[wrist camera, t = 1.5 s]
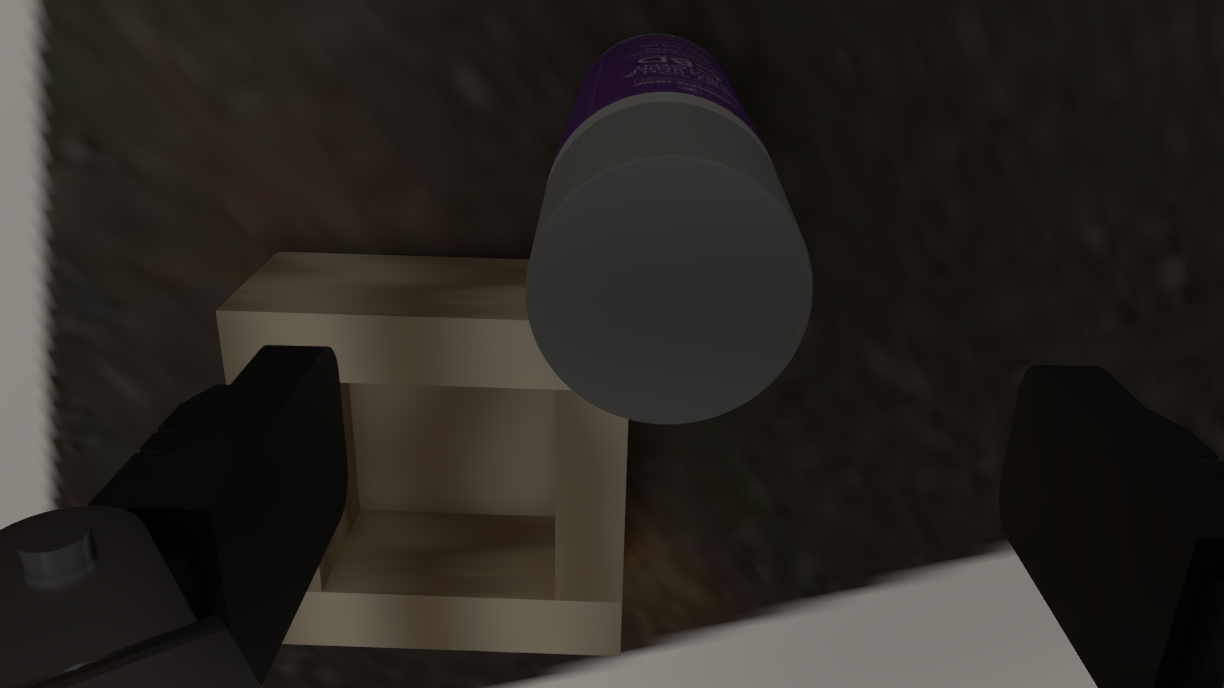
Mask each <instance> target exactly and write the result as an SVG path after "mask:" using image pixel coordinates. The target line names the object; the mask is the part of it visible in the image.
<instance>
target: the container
mask: <svg viewBox="0 0 1224 688" xmlns="http://www.w3.org/2000/svg"><path fill="white" fill-rule="evenodd" d="M525 295H526V308H527V314H528V319H529V323H530V327H531V330H532V333H533V336H534V338H535V341H536V343H537V345H538V347H539V349H540V351H541V353H542V354H543V356H544V358H545V360H546V361H547V363H548V364H549V365H550V367H551V368H552V370H553V371H554V372H555V373H556V374H557V376H558V377H559V378H560V379H561V380H562V381H563V382H564V383H565V384H566V385H567V386H568V387H569V388H570V389H571V390H573V391H574V392H575V393H576V394H577V395H579V396H580V397H582V398H583V399H585V400H586V401H588V402H589V403H591V404H593V405H594V406H596V407H598V408H600V409H602V410H604V411H606V412H609V413H611V414H614V415H616V416H619V417H622V418H626V419H629V420H633V421H638V422H644V423H651V424H684V423H691V422H697V421H702V420H705V419H709V418H713V417H716V416H719V415H721V414H724V413H726V412H729V411H731V410H733V409H735V408H737V407H739V406H741V405H743V404H744V403H746V402H748V401H749V400H751V399H752V398H754V397H755V396H757V395H758V394H759V393H761V392H762V391H763V390H764V389H765V388H767V387H768V386H769V385H770V384H771V383H772V382H773V381H774V380H775V379H776V378H777V377H778V376H779V375H780V373H781V372H782V371H783V370H784V369H785V367H786V366H787V365H788V363H789V362H790V361H791V359H792V357H793V356H794V354H795V353H796V351H797V349H798V347H799V345H800V343H801V341H802V339H803V336H804V334H805V331H806V328H807V325H808V321H809V317H810V313H811V307H812V299H813V277H812V268H811V263H810V258H809V255H808V251H807V248H806V245H805V242H804V240H803V237H802V235H801V232H800V230H799V227H798V225H797V222H796V220H795V218H794V215H793V213H792V210H791V208H790V205H789V203H788V200H787V198H786V195H785V193H784V191H783V188H782V186H781V183H780V181H779V178H778V176H777V173H776V170H775V167H774V164H773V162H772V160H771V157H770V155H769V153H768V151H767V150H766V148H765V146H764V144H763V142H762V140H761V138H760V137H759V135H758V133H757V131H756V129H755V127H754V126H753V124H752V122H751V120H750V118H749V116H748V114H747V113H746V111H745V109H744V107H743V105H742V103H741V102H740V100H739V98H738V96H737V94H736V92H735V90H734V89H733V87H732V85H731V83H730V81H729V79H728V78H727V76H726V74H725V72H724V71H723V69H722V68H721V67H720V65H719V64H718V63H717V62H716V60H715V59H714V58H713V57H712V56H711V55H710V54H709V53H708V52H707V51H705V50H704V49H702V48H701V47H700V46H698V45H696V44H695V43H693V42H691V41H689V40H687V39H684V38H681V37H678V36H674V35H670V34H662V33H650V34H642V35H637V36H634V37H630V38H628V39H625V40H623V41H621V42H619V43H617V44H615V45H614V46H612V47H611V48H609V49H608V50H607V51H605V52H604V53H603V54H602V55H601V56H600V57H599V58H598V59H597V60H596V61H595V62H594V64H593V65H592V66H591V68H590V69H589V70H588V72H587V74H586V75H585V77H584V79H583V81H582V83H581V86H580V88H579V90H578V93H577V96H576V99H575V102H574V105H573V108H572V111H571V113H570V116H569V119H568V122H567V125H566V128H565V131H564V133H563V136H562V139H561V142H560V145H559V148H558V151H557V153H556V156H555V159H554V162H553V165H552V168H551V171H550V174H549V178H548V181H547V186H546V191H545V195H544V199H543V204H542V208H541V212H540V217H539V221H538V225H537V229H536V234H535V238H534V242H533V247H532V251H531V255H530V259H529V264H528V269H527V275H526V291H525Z"/></svg>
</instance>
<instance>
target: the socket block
mask: <svg viewBox="0 0 1224 688" xmlns="http://www.w3.org/2000/svg"><path fill="white" fill-rule="evenodd" d="M528 264H529V259H502V258H469V257H437V256H405V255H372V254H340V253H308V252H277V253H276V254H275V255H274V256H273V257H272V258H271V259H270V260H269V261H268V262H267V263H266V264H265V265H263V266H262V267H261V268H260V269H259V270H258V271H257V272H256V273H255V274H254V275H253V276H252V277H251V278H250V279H249V280H248V281H246V282H245V283H244V284H243V285H242V286H241V287H240V288H239V289H238V290H237V291H236V292H235V293H234V294H233V295H232V296H231V297H229V298H228V299H227V300H226V301H225V302H224V303H223V304H222V305H221V306H220V307H219V308H218V309H217V310H216V316H217V323H218V330H219V337H220V344H221V351H222V358H223V365H224V372H225V379H226V385H230V384H231V383H232V382H233V381H234V379H235V378H236V377H237V376H238V375H239V374H240V372H241V371H242V370H243V369H244V368H245V367H246V365H247V364H248V363H249V362H250V361H251V359H252V358H253V357H254V356H255V355H256V354H257V352H258V351H259V350H260V349H261V348H262V347H263V346H265V345H291V346H328V347H331V348H332V349H333V351H334V353H335V355H336V359H337V363H338V369H339V379H340V389H341V399H342V410H343V420H344V431H345V441H346V452H347V462H348V488H347V497H346V503H345V508H344V512H343V515H342V518H341V520H340V523H339V525H338V527H337V529H336V531H335V533H334V535H333V537H332V539H331V541H330V544H329V546H328V548H327V550H326V552H325V554H324V556H323V558H322V560H321V563H320V565H319V567H318V569H317V571H316V573H315V575H314V577H313V579H312V581H311V584H310V586H309V588H308V590H307V592H306V594H305V596H304V598H303V600H302V603H301V605H300V607H299V609H298V611H297V613H296V615H295V617H294V619H293V621H292V624H291V626H290V628H289V630H288V632H287V634H286V636H285V638H284V640H283V643H282V644H302V645H330V646H357V647H385V648H412V649H440V650H467V651H495V652H522V653H550V654H578V655H605V656H620V648H621V619H622V589H623V560H624V531H625V502H626V473H627V444H628V419H626V418H622V417H619V416H616V415H614V414H611V413H609V412H606V411H604V410H602V409H600V408H598V407H596V406H594V405H593V404H591V403H589V402H588V401H586V400H585V399H583V398H582V397H580V396H579V395H577V394H576V393H575V392H574V391H573V390H571V389H570V388H569V387H568V386H567V385H566V384H565V383H564V382H563V381H562V380H561V379H560V378H559V377H558V376H557V374H556V373H555V372H554V371H553V370H552V368H551V367H550V365H549V364H548V363H547V361H546V360H545V358H544V356H543V354H542V353H541V351H540V349H539V347H538V345H537V343H536V341H535V338H534V336H533V333H532V330H531V327H530V323H529V319H528V314H527V308H526V295H525V291H526V275H527V269H528Z"/></svg>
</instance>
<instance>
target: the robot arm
mask: <svg viewBox="0 0 1224 688" xmlns="http://www.w3.org/2000/svg"><path fill="white" fill-rule="evenodd" d="M347 488H348V462H347V452H346V441H345V431H344V420H343V410H342V399H341V389H340V379H339V369H338V363H337V359H336V355H335V353H334V351H333V349H332V348H331V347H328V346H291V345H265V346H263V347H262V348H261V349H260V350H259V351H258V352H257V354H256V355H255V356H254V357H253V358H252V359H251V361H250V362H249V363H248V364H247V365H246V367H245V368H244V369H243V370H242V371H241V372H240V374H239V375H238V376H237V377H236V378H235V379H234V381H233V382H232V383H231V384H230V385H221V384H216V385H215V386H213V387H211V388H209V389H207V390H205V391H203V392H202V393H200V394H198V395H196V396H194V397H192V398H191V399H189V400H187V401H185V402H183V403H181V404H180V405H179V406H178V407H177V408H176V409H175V410H174V411H173V412H172V413H171V414H170V416H169V417H168V418H167V419H166V420H165V421H164V422H163V423H162V424H161V425H160V426H159V428H158V433H153V434H152V435H151V436H150V437H149V438H148V440H147V441H146V442H145V443H144V444H143V445H142V446H141V447H140V453H135V454H134V455H133V456H132V457H131V458H130V459H129V460H128V461H127V463H126V464H125V465H124V466H123V467H122V468H121V469H120V470H119V471H118V472H117V473H116V475H115V476H114V477H113V478H112V479H111V480H110V481H109V482H108V483H107V484H106V485H105V487H104V488H103V489H102V490H101V491H100V492H99V493H98V494H97V495H96V496H95V497H94V499H93V500H92V501H91V502H90V503H89V504H88V505H87V506H77V507H69V508H63V509H57V510H53V511H48V512H44V513H41V514H38V515H34V516H31V517H28V518H26V519H23V520H21V521H18V522H16V523H13V524H11V525H9V526H7V527H5V528H4V529H1V530H0V688H261V687H262V685H263V683H264V680H265V678H266V676H267V674H268V672H269V670H270V668H271V666H272V664H273V661H274V659H275V657H276V655H277V653H278V651H279V649H280V647H281V645H282V643H283V640H284V638H285V636H286V634H287V632H288V630H289V628H290V626H291V624H292V621H293V619H294V617H295V615H296V613H297V611H298V609H299V607H300V605H301V603H302V600H303V598H304V596H305V594H306V592H307V590H308V588H309V586H310V584H311V581H312V579H313V577H314V575H315V573H316V571H317V569H318V567H319V565H320V563H321V560H322V558H323V556H324V554H325V552H326V550H327V548H328V546H329V544H330V541H331V539H332V537H333V535H334V533H335V531H336V529H337V527H338V525H339V523H340V520H341V518H342V515H343V512H344V508H345V503H346V497H347ZM999 507H1000V516H1001V521H1002V526H1003V529H1004V532H1005V535H1006V537H1007V539H1008V540H1009V542H1010V544H1011V545H1012V547H1013V549H1014V550H1015V552H1016V554H1017V555H1018V557H1019V558H1020V560H1021V562H1022V563H1023V565H1024V567H1025V568H1026V570H1027V572H1028V573H1029V575H1030V577H1031V578H1032V580H1033V582H1034V583H1035V585H1036V586H1037V588H1038V590H1039V591H1040V593H1041V595H1042V596H1043V598H1044V600H1045V601H1046V603H1047V605H1048V606H1049V608H1050V610H1051V611H1052V613H1053V614H1054V616H1055V618H1056V619H1057V621H1058V623H1059V624H1060V626H1061V627H1062V629H1063V631H1064V632H1065V634H1066V636H1067V637H1068V639H1069V641H1070V642H1071V644H1072V646H1073V647H1074V649H1075V651H1076V652H1077V654H1078V656H1079V657H1080V659H1081V660H1082V662H1083V664H1084V665H1085V667H1086V669H1087V670H1088V672H1089V674H1090V675H1091V677H1092V679H1093V680H1094V682H1095V683H1096V685H1097V687H1098V688H1224V461H1218V456H1217V455H1216V454H1215V453H1214V452H1213V451H1212V450H1211V449H1210V448H1209V447H1208V446H1206V445H1205V444H1204V443H1203V442H1202V441H1201V440H1200V439H1199V438H1198V437H1197V436H1196V435H1194V434H1193V433H1192V432H1191V431H1190V430H1188V429H1186V428H1184V427H1182V426H1180V425H1178V424H1176V423H1175V422H1173V421H1171V420H1169V419H1167V418H1165V417H1163V416H1161V415H1159V414H1157V413H1156V412H1154V411H1152V410H1150V409H1146V408H1145V407H1144V406H1143V405H1142V404H1141V403H1140V402H1139V401H1138V400H1137V399H1136V398H1135V397H1134V396H1133V395H1132V394H1131V393H1130V392H1128V391H1127V390H1126V389H1125V388H1124V387H1123V386H1122V385H1121V384H1120V383H1119V382H1118V381H1117V380H1116V379H1115V378H1114V377H1113V376H1112V375H1111V374H1110V373H1109V372H1107V371H1106V370H1105V369H1104V368H1102V367H1095V366H1054V365H1033V366H1031V367H1030V368H1029V369H1028V370H1027V371H1026V373H1025V374H1024V376H1023V378H1022V381H1021V384H1020V388H1019V393H1018V398H1017V403H1016V408H1015V413H1014V418H1013V423H1012V428H1011V433H1010V438H1009V443H1008V448H1007V453H1006V458H1005V463H1004V468H1003V473H1002V478H1001V483H1000V492H999Z"/></svg>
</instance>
